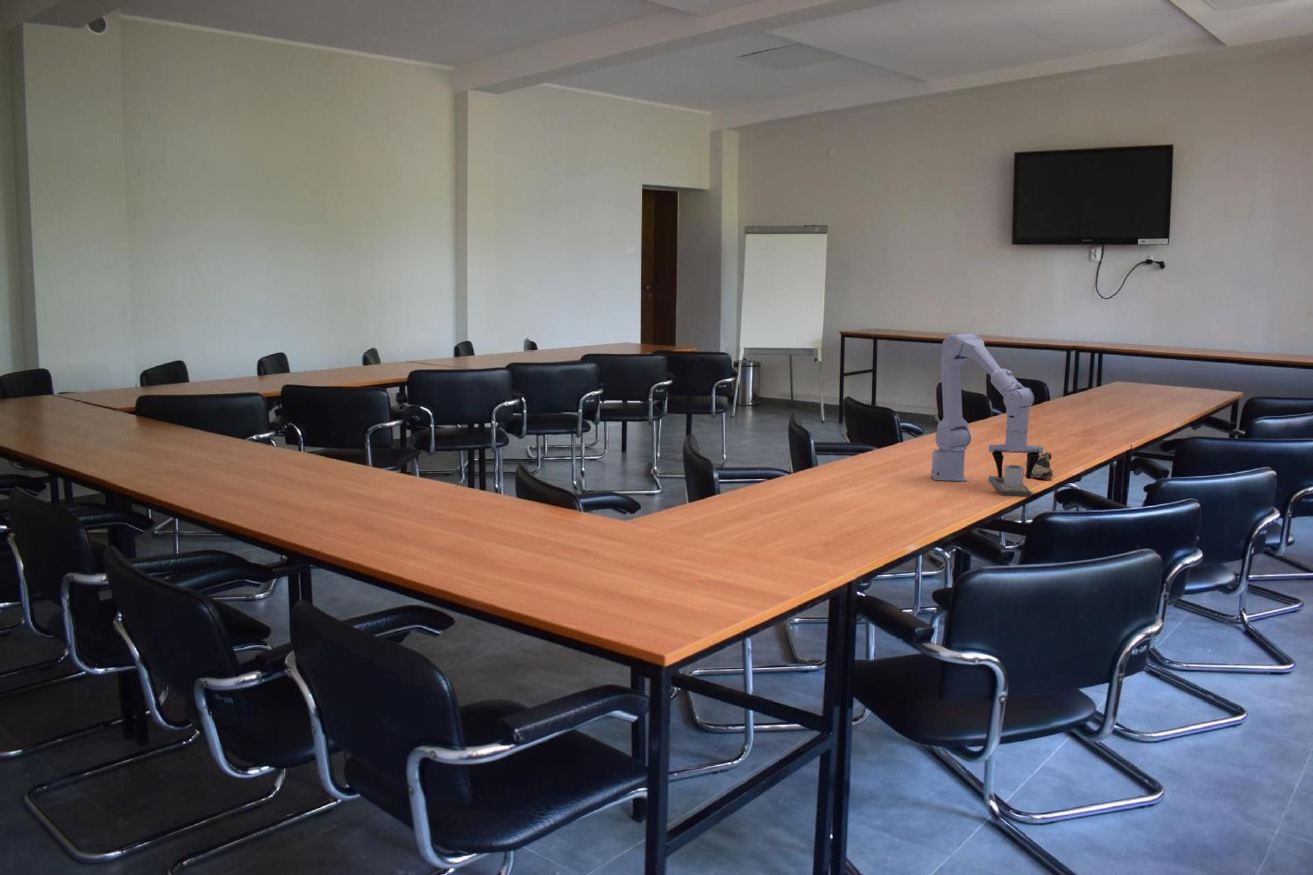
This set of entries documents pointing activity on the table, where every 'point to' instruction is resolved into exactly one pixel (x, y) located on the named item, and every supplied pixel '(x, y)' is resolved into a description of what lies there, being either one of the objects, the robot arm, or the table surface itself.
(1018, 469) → the grey upright block
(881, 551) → the table surface
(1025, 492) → the rail plate
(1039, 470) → the rock
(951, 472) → the robot arm
